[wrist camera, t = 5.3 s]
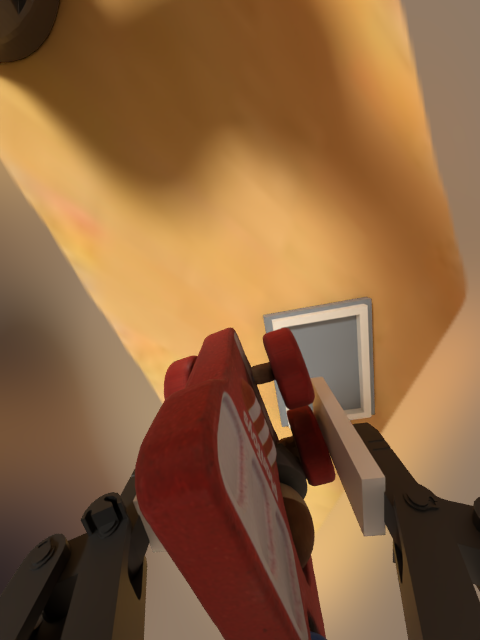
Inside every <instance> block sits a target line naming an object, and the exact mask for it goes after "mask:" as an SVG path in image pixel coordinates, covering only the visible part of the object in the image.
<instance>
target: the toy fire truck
mask: <svg viewBox="0 0 480 640" xmlns="http://www.w3.org/2000/svg"><path fill="white" fill-rule="evenodd" d="M263 343H264V347H265V350H266V353H267V356H268V358H269V361H270V362H268V363H264V364H260V365H256V366H253V367H251V366H250V363H249V361H248V360H247V357H246V355H245V353H244V350H243V348H242V345H241V342H240V340H239V338H238V336H237V334H236V332H235V330H234V329H233V328H227V329H224V330H222V331H219V332H216V333H214V334H211V335H209V336H208V337H206V338H205V340H204V342H203V345H202V348H201V350H200V352H199V355H198V356H190V357H187V358H183V359H180V360H178V361H175V362H173V363H172V364H171V365H170V366H169V368H168V370H167V372H166V375H165V381H164V397H165V401H164V403H163V405H162V406H161V408H160V410H159V412H158V413H157V415H156V417H155V419H154V420H153V423H152V425H151V426H150V428H149V430H148V432H147V434H146V436H145V438H144V440H143V442H142V444H141V447H140V451H139V454H138V458H137V462H136V468H135V489H136V497H137V502H138V505H139V508H140V511H141V513H142V515H143V516H144V518H145V520H146V521H147V522H148V524H149V525H150V527H151V528H152V530H153V532H154V533H155V535H156V536H157V538H158V539H159V541H160V542H161V544H162V545H163V547H164V548H165V550H166V551H167V552H168V554H169V555H170V557H171V558H172V560H173V561H174V562H175V564H176V566H177V567H178V569H179V570H180V572H181V573H182V575H183V576H184V578H185V579H186V581H187V582H188V584H189V585H190V587H191V589H192V590H193V591H194V593H195V595H196V596H197V598H198V599H199V601H200V602H201V604H202V606H203V607H204V609H205V610H206V612H207V613H208V615H209V616H210V618H211V619H212V621H213V622H214V624H215V625H216V626H217V627H218V629H219V631H220V632H221V634H222V636H223V637H224V639H225V640H327V639H326V636H325V630H324V623H323V618H322V613H321V608H320V603H319V597H318V591H317V586H316V580H315V574H314V571H313V564H312V558H311V553H312V550H313V545H314V526H313V521H312V517H311V514H310V512H309V509H308V507H307V505H306V503H305V501H304V498H305V496H306V493H307V481H306V479H307V480H308V483H309V484H310V485H312V486H318V485H322V484H326V483H330V482H333V481H334V480H335V471H334V467H333V464H332V461H331V457H330V454H329V451H328V448H327V446H326V443H325V440H324V438H323V435H322V432H321V430H320V427H319V425H318V422H317V420H316V417H315V415H314V413H313V411H312V409H311V408H310V407H309V406H308V405H310V404H312V403H313V402H314V398H315V393H314V389H313V386H312V382H311V379H310V376H309V372H308V369H307V367H306V364H305V361H304V358H303V356H302V353H301V351H300V348H299V346H298V344H297V341H296V339H295V337H294V335H293V333H292V332H291V330H290V329H289V328H281V329H278V330H275V331H271V332H268V333H266V334H265V335H264V336H263ZM273 380H276V382H277V385H278V388H279V391H280V393H281V396H282V398H283V401H284V403H285V406H286V407H287V408H288V409H289V410H288V411H287V417H288V421H289V424H290V428H291V431H292V434H293V436H291V437H287V438H283V439H281V440H279V439H278V437H277V434H276V432H275V430H274V428H273V426H272V423H271V421H270V419H269V416H268V413H267V410H266V408H265V405H264V402H263V400H262V398H261V395H260V392H259V390H258V387H257V384H264V383H267V382H271V381H273Z"/></svg>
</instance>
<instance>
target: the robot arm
mask: <svg viewBox="0 0 480 640" xmlns="http://www.w3.org/2000/svg"><path fill="white" fill-rule="evenodd" d="M58 5H59V0H0V62H11V61H16V60H19V59H22V58H24V57H26V56H28V55H30V54H31V53H33V52H34V51H35V50H36V49H38V48H39V47H40V45H41V44H42V43H43V42H44V40H45V39H46V38H47V36H48V34H49V32H50V30H51V28H52V26H53V24H54V21H55V18H56V14H57V10H58ZM310 379H311V382H312V386H313V389H314V393H315V398H314V402H313V413H314V415H315V417H316V420H317V422H318V425H319V427H320V430H321V432H322V435H323V438H324V440H325V443H326V446H327V448H328V451H329V453H330V456H331V458H332V461H333V463H334V465H335V468H336V470H337V473H338V475H339V477H340V480H341V482H342V485H343V487H344V489H345V492H346V494H347V497H348V499H349V501H350V504H351V506H352V509H353V511H354V513H355V516H356V518H357V521H358V523H359V526H360V528H361V530H362V533H363V535H364V536H375V535H385V524H386V526H387V528H388V530H389V532H390V534H391V536H392V538H393V562H394V563H396V568H397V574H398V580H399V586H400V592H401V598H402V604H403V610H404V616H405V622H406V628H407V634H408V640H480V602H479V599H478V596H477V594H476V591H475V588H474V586H473V584H476V586H477V588H478V589H479V591H480V497H478V498H477V499H476V500H475V501H474V506H470V505H466V504H461V503H457V502H452V501H448V500H444V499H441V498H439V497H437V496H435V495H434V494H433V493H432V492H431V491H430V490H428V489H427V488H425V487H424V486H422V485H420V484H418V483H417V482H416V481H415V479H414V478H413V477H412V475H411V474H410V473H409V472H408V470H407V469H406V467H405V466H404V465H403V463H402V462H401V461H400V459H399V458H398V457H397V455H396V454H395V453H394V452H393V450H392V449H391V448H390V446H389V445H388V443H387V442H386V441H385V440H384V438H383V437H382V435H381V434H380V433H379V431H378V430H377V429H375V428H374V427H373V426H371V425H370V424H368V423H359V424H352V423H351V422H350V420H349V418H348V417H347V415H346V414H345V412H344V410H343V409H342V407H341V406H340V404H339V402H338V401H337V399H336V398H335V396H334V394H333V393H332V391H331V390H330V388H329V386H328V385H327V383H326V382H325V380H324V378H323V377H316V378H310ZM81 522H82V523H83V526H84V528H85V530H86V532H87V533H86V534H83V535H81V536H78V537H76V538H74V539H72V540H69V541H67V539H66V537H65V536H64V535H63V534H55V535H52V536H50V537H48V538H46V539H45V540H43V541H42V542H40V543H39V544H38V545H37V546H36V547H35V548H34V549H33V550H32V551H30V553H29V554H28V555H27V557H26V558H25V559H24V560H23V562H22V564H21V565H20V567H19V568H18V569H17V571H16V573H15V574H14V576H13V577H12V579H11V580H10V582H9V583H8V585H7V586H6V588H5V589H4V591H3V592H2V594H1V596H0V640H144V621H145V599H146V577H147V561H146V557H145V553H146V550H147V547H148V545H149V543H150V546H151V548H152V550H153V552H164V551H166V550H165V548H164V547H163V545H162V544H161V542H160V541H159V539H158V538H157V536H156V535H155V533H154V532H153V530H152V528H151V527H150V525H149V524H148V522H147V521H146V520H145V518H144V516H143V515H142V513H141V511H140V508H139V505H138V502H137V497H136V489H135V470H134V471H133V473H132V476H131V477H130V479H129V481H128V483H127V484H126V486H125V488H124V490H123V492H122V494H121V496H120V495H119V494H118V493H114V492H112V493H108V494H105V495H103V496H101V497H99V498H98V499H97V500H95V501H94V502H93V503H92V504H91V505H90V506H89V507H88V509H87V510H86V511H85V512H84V515H83V516H82V518H81Z"/></svg>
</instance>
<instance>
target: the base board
mask: <svg viewBox="0 0 480 640" xmlns="http://www.w3.org/2000/svg"><path fill="white" fill-rule="evenodd" d="M263 318H264V324H265V330H266V333H268V332H271V331H275V330H278V329H281V328H289V329H290V330H291V332H292V333H293V335H294V337H295V339H296V341H297V344H298V346H299V348H300V351H301V353H302V356H303V358H304V361H305V364H306V367H307V369H308V372H309V376H310V378H316V377H323V378H324V380H325V382H326V383H327V385H328V386H329V388H330V390H331V391H332V393H333V394H334V396H335V398H336V399H337V401H338V402H339V404H340V406H341V407H342V409H343V410H344V412H345V414H346V415H347V417H348V418H349V420H354V419H362V418H369V417H371V415H374V414H375V403H374V370H373V336H372V303H371V298H369V297H363V298H357V299H351V300H346V301H340V302H334V303H329V304H323V305H317V306H312V307H306V308H300V309H295V310H289V311H283V312H278V313H272V314H267V315H263ZM274 383H275V389H276V394H277V400H278V406H279V412H280V418H281V424H282V427H285V426H289V428H290V424H289V421H288V417H287V411H288V410H289V409H288V408H287V407H286V406H285V403H284V401H283V398H282V396H281V393H280V391H279V388H278V385H277V382H276V380H274ZM308 406H309V407H310V408H311V409H312V411H313V403H312V404H310V405H308Z"/></svg>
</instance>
